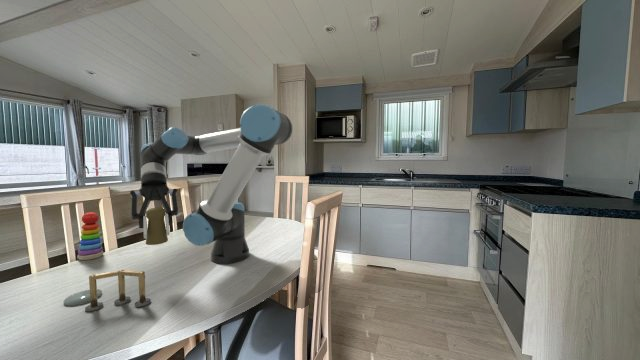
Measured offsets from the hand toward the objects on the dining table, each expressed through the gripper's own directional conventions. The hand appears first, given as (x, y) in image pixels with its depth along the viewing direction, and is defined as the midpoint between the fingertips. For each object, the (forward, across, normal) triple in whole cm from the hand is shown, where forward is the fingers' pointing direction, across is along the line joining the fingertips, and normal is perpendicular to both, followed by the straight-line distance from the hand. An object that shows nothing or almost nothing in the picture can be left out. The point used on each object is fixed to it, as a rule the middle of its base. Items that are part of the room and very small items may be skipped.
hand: (156, 234), depth 76 cm
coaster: (+8, +18, -16) cm, 25 cm away
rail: (+16, +9, -8) cm, 20 cm away
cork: (0, 0, -5) cm, 5 cm away
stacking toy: (-20, +22, -45) cm, 54 cm away
